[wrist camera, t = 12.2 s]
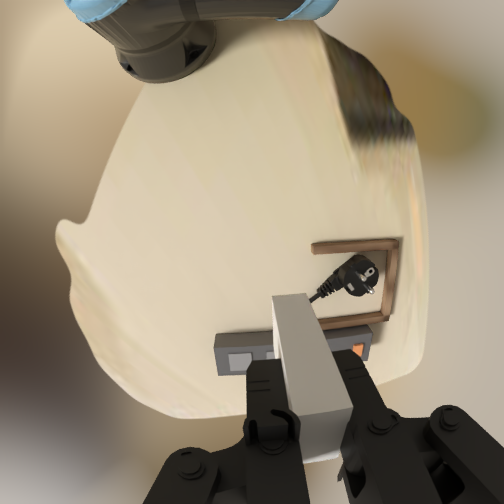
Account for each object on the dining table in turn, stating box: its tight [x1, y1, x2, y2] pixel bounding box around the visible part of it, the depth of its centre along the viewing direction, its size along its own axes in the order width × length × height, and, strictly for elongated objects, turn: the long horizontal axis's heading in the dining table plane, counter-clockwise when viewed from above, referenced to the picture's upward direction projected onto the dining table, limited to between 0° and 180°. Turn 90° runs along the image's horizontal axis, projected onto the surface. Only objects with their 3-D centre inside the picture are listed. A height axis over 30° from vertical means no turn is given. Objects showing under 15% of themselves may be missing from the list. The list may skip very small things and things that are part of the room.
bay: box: [311, 239, 399, 330], centre depth 43 cm, size 14×14×2 cm
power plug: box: [309, 255, 379, 303], centre depth 40 cm, size 6×8×12 cm
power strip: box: [214, 324, 373, 376], centre depth 45 cm, size 6×26×4 cm, turn 93°
